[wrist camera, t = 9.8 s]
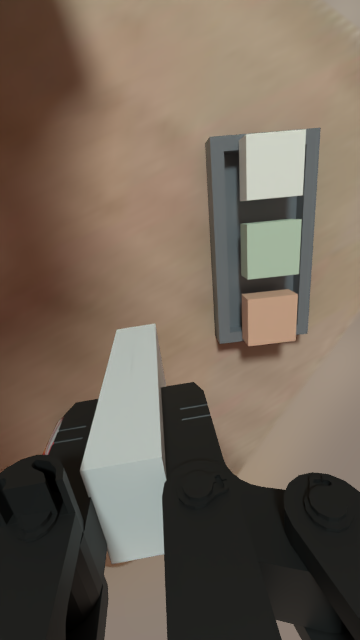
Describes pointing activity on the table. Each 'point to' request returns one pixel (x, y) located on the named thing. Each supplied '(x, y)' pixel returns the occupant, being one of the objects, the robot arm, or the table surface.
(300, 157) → the ivory key
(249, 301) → the terracotta key
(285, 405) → the table surface
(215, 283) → the grey rectangular tray
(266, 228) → the sage key
